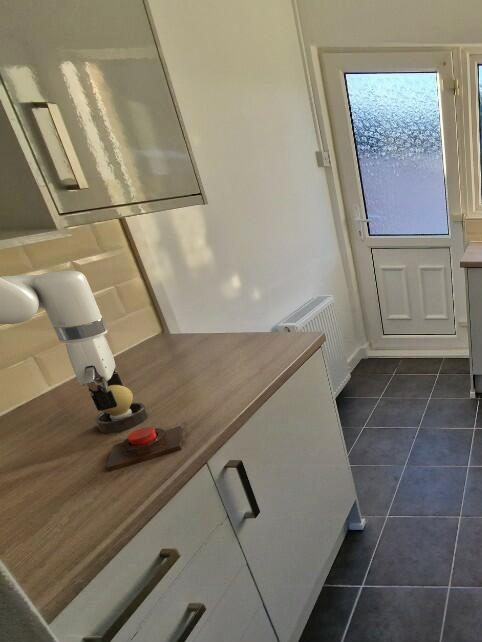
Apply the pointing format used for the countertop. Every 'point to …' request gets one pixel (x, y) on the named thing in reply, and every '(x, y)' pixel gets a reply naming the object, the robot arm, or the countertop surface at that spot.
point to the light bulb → (120, 402)
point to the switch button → (142, 436)
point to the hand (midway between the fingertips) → (111, 398)
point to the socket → (125, 423)
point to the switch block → (145, 449)
